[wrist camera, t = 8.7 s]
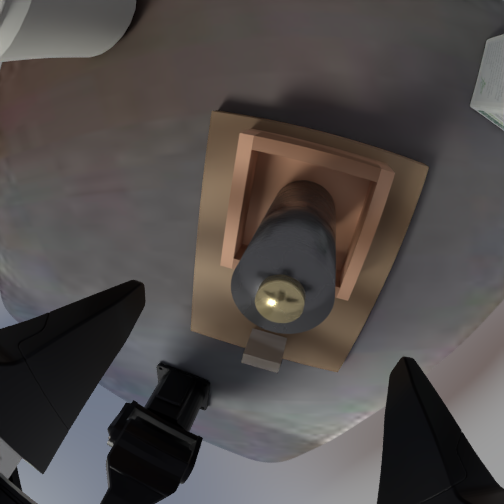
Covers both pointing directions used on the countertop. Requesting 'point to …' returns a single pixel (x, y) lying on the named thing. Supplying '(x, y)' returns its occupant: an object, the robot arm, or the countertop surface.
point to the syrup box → (491, 83)
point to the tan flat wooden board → (256, 206)
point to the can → (61, 27)
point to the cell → (290, 262)
